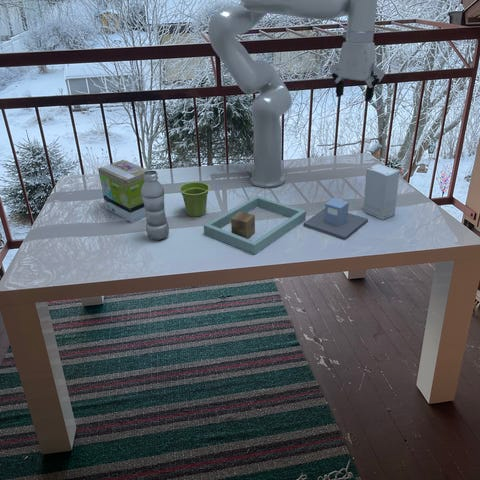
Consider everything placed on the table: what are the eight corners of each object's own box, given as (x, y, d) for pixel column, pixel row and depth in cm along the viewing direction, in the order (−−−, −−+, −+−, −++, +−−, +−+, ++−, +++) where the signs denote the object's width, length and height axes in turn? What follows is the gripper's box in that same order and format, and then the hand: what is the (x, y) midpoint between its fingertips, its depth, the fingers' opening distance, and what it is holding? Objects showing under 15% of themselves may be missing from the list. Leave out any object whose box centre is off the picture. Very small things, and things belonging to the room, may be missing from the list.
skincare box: (394, 215, 146) (402, 170, 138) (381, 221, 143) (388, 175, 136) (374, 206, 152) (380, 162, 144) (361, 211, 149) (366, 166, 142)
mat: (303, 226, 141) (303, 223, 141) (327, 209, 151) (327, 206, 150) (345, 240, 134) (345, 237, 133) (367, 221, 143) (368, 218, 142)
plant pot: (216, 209, 153) (214, 184, 148) (202, 221, 145) (200, 196, 141) (191, 204, 156) (189, 180, 152) (176, 216, 149) (173, 191, 144)
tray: (204, 234, 139) (203, 225, 137) (257, 203, 155) (257, 195, 154) (254, 254, 128) (254, 245, 127) (305, 219, 145) (305, 211, 143)
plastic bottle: (160, 244, 134) (152, 179, 124) (142, 238, 137) (132, 174, 127) (174, 234, 139) (167, 171, 128) (156, 229, 142) (148, 166, 132)
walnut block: (231, 236, 137) (231, 218, 134) (240, 229, 141) (239, 211, 138) (246, 240, 135) (246, 222, 132) (254, 233, 139) (254, 214, 136)
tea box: (104, 209, 154) (96, 167, 147) (129, 199, 161) (123, 158, 153) (131, 223, 145) (124, 179, 138) (157, 212, 152) (152, 169, 144)
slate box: (324, 221, 141) (325, 203, 138) (332, 215, 145) (334, 197, 142) (338, 226, 139) (340, 208, 136) (347, 220, 142) (349, 202, 139)
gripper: (326, 37, 137) (322, 96, 146) (382, 41, 128) (374, 104, 136) (339, 34, 142) (334, 92, 151) (393, 38, 133) (385, 99, 141)
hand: (353, 98), depth 144 cm, fingers open, 9 cm apart
